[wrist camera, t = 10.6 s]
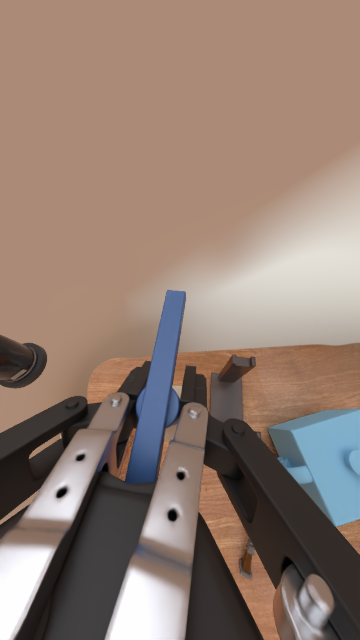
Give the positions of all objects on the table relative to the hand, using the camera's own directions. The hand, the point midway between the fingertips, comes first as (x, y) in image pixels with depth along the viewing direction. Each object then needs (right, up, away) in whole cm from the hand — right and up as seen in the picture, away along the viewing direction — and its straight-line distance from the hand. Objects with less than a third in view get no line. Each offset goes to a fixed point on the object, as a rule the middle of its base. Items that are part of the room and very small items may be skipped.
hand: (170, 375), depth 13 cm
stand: (+11, -15, +29) cm, 35 cm away
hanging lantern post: (+12, -34, +19) cm, 41 cm away
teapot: (+28, -22, +25) cm, 43 cm away
